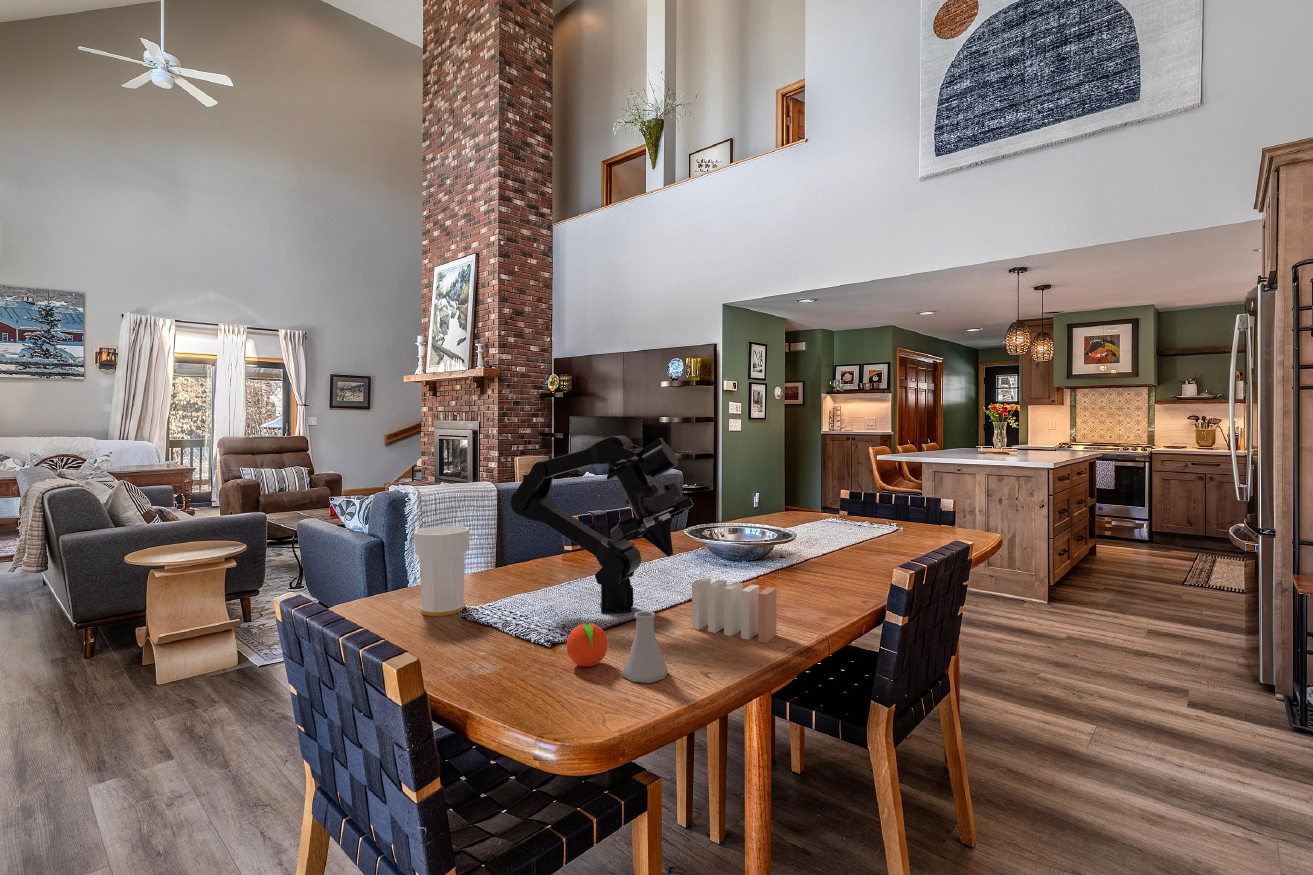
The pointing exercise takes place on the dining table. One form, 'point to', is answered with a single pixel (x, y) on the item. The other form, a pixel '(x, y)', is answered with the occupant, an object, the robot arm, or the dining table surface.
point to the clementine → (587, 644)
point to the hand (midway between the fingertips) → (670, 555)
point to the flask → (645, 653)
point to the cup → (442, 568)
